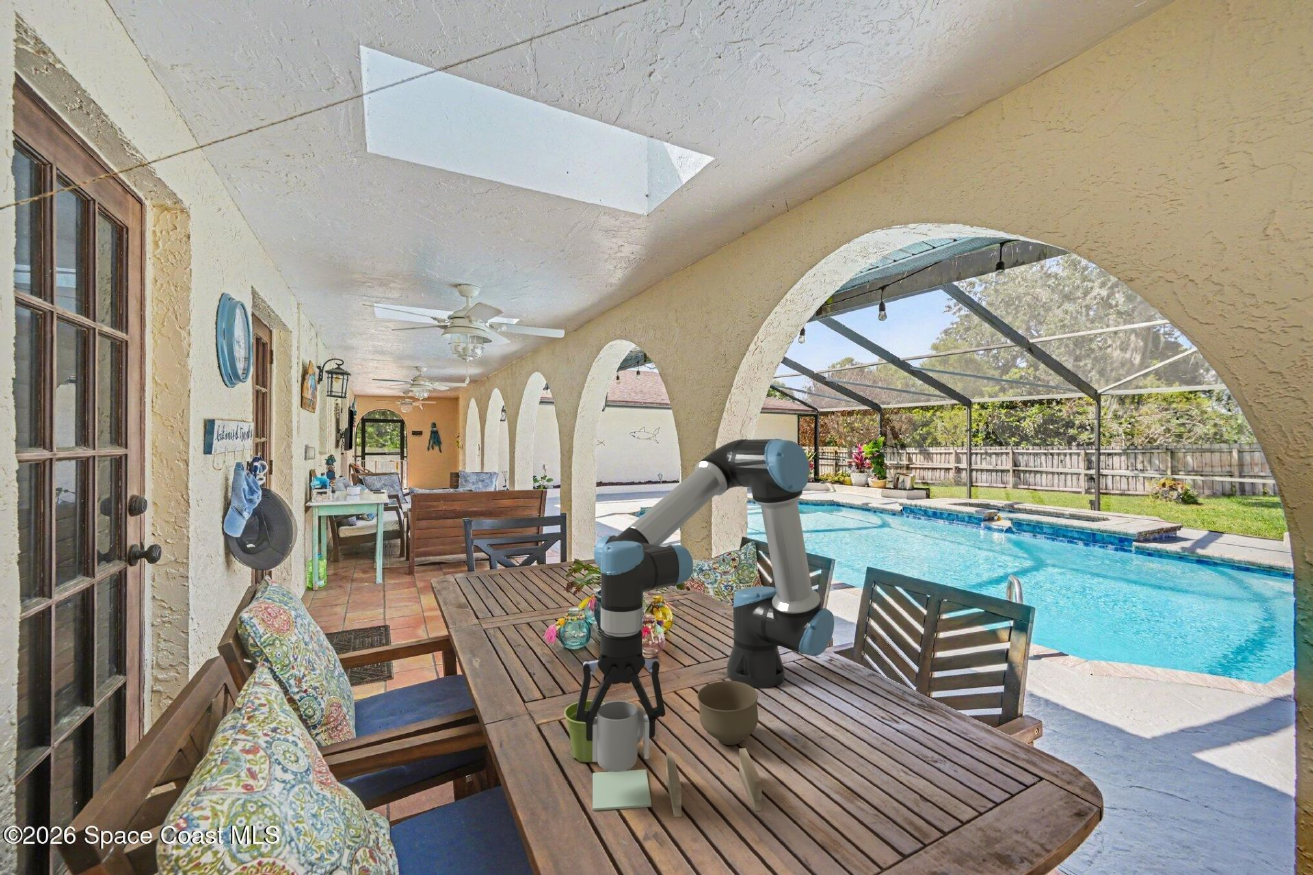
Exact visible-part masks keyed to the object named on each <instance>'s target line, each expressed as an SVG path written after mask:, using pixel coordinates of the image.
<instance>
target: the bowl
mask: <svg viewBox="0 0 1313 875" xmlns="http://www.w3.org/2000/svg"><path fill="white" fill-rule="evenodd" d="M696 697H697V698H696V699H697V702H698V708H699V722H700V725H701V727H702V728H703V729H704V731H705V732H706V733H707V734H708V735H709V736H711V737H712V738H714V739H716V740H718V742H719V743H721V744H723V745H727V746H734V745H738V744H740V743H741V742H742V741H743V740H744V739H746V738H748V737H749V736H750V735H751V734H752V733H753V732H754V731H755V729H756V727H757V725H758V723H759V711H758V699H759V694H758V691H757V690H756V689H755V687H751V686H749V685H747V684H745V683H741V682H736V681H732V680H722V681H721V680H719V681H714V682H711V683H708V684H706V685H705V686H703V687H702V688H700V689H699V690H698V692H697V696H696Z"/></svg>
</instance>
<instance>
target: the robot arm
mask: <svg viewBox="0 0 1313 875" xmlns="http://www.w3.org/2000/svg"><path fill="white" fill-rule="evenodd" d="M810 471H811V469H810V463H809V459H808V457H807V453H806V451H805V450H804V449H803V447H802V446H801V445H799V444H798V443H797V442H796V441H793V440H790V439H789V440H787V439H781V438H774V439H773V438H772V439H771V438H770V439H769V438H768V439H767V438H765V439H763V438H762V439H761V438H760V439H758V438H757V439H746V438H745V439H742V438H739V439H736V440H732V441H729V442H727V443H725V444H723V445H722V446H720V447H718V448H716V449H715V450H713V451H712V452H710V453H709V454H707V455H706V456H704V457H703V458H702V459H701V460H700V461H698V462H697V463H696V465H695V466H694V471H693V472H692V473H690V474H689V476H687V477H686V478H685V479H684V480H683V481H681V482H680V483H679V484H677V486H675V487H674V488H673V489H671V491H669V492H668V493H667V494H666V495H664V496H663V497H662V498H661V499H660V500H659V501H658V502H657V503H655V504H654V505H653V506H652V507H650V508H649V509H648V510H647V511H646V512H645V513H643V514H642V515H641V516H639V518H638V519H636V520H635V521H634V522H632V524H631V525H629V526H628V527H627V528H626V529H625V530H623V531H622V532H620V533H619V534H618V535H613V534H612V535H606V536H603V537H601V538H600V539H599V540H598V541H597V542H596V545H595V546H594V550H593V557H594V558H593V560H594V562H595V564H596V565H597V567H599V569H600V629H601V631H600V644H599V645H600V652H599V657H598V659H595V660H592V661H591V660H588V659H585V660H584V661H583V663H582V672H583V679H582V683H581V688H580V692H579V697H578V701H577V702H578V706H577V711H576V720H577V721H584V722H585V723H586V739H587V741H593V759H592V762H591V763H598V762H597V717H595V716H596V714H597V712H598V710H599V708H600V706H601V704H602V702H604V700H605V697H606V695H607V693H608V691H610V688H611V686H612V685H619V684H626V685H627V684H631V685H632V686H633V688H634V690H635V693H636V694H637V696H638V698H639V701H640V703H641V705H642V707H643V710H644V711H645V713H646V714H643V715H644V729H643V738H642V739H643V742H642V743H643V744H642V745H643V747H642V748H643V749H642V751H643V756H644V757H643V758H644V760H649V759H650V738H655V736H656V722H657V719H658V718H660V717H661V718H664V717H666V709H665V708H666V707H665V702H664V699H663V694H662V688H661V683H660V678H659V672H660V667H661V664H660V662H659V659H658V657H656V656H654V657H652V658H645V656H644V655H643V631H642V630H641V629H643V626H644V624H643V619H644V618H643V614H644V613H643V610H644V609H643V608H644V607H643V606H644V603H643V601H644V593H646V592H651V591H655V590H659V589H665V588H669V587H675V586H677V585H680V584H682V583H685V582H687V581H689V579H690V578H691V576H692V574H693V572H694V559H693V557H692V554H691V552H690V551H689V550H688V549H687V548H686V547H685V546H684V545H681V544H669V545H665V546H663V545H662V544H663V543H665V542H666V541H667V539H669V538H670V537H671V536H672V535H673V534H675V533H676V532H677V530H679V529H680V528H681V527H682V526H683V525H684V524H686V523H687V521H689V520H690V518H692V517H693V516H694V515H695V514H696V513H697V512H699V511H700V509H702V508H703V507H704V506H705V505H706V504H707V503H709V502H710V501H711V500H712V499H713V498H714V497H715V496H722V495H723V494H724V493H725V494H726V492H727V491H728V490H730V489H732V488H738V487H742V488H750V489H751V491H750V492H751V497H752V500H753V501H754V502H755V503H756V504H757V505H759V506H760V509H761V514H762V519H763V524H764V530H765V537H766V541H767V547H768V548H767V549H768V552H769V553H768V554H769V559H770V564H771V570H772V575H773V580H774V584H775V587H773V586H761V585H760V586H749V587H744V588H741V589H738V590H737V591H736V592H735V593H734V595H733V596H734V597H733V605H732V609H733V612H732V613H733V646H732V648H731V651H730V654H729V658H728V661H727V665H726V675H727V678H729V680H730V681H736V682H741V683H745V684H747V685H749V686H751V687H753V688H757V689H760V688H761V689H765V688H766V689H767V688H772V687H777V686H779V685H781V684H782V683H783V682H784V681H785V672H786V671H785V666H784V664H783V659H782V657H781V654H780V651H779V647H781V648H784V649H788V650H789V651H790V650H791V651H793V652H796V653H799V654H800V655H807V656H810V657H817V656H820V655H821V654H823V653H824V652H825V651H826V649H827V648H828V647H829V645H830V642H831V640H832V638H833V633H834V630H835V617H834V614H833V612H832V611H831V610H830V609H828V608H825V607H823V606H822V601H821V597H820V594H819V593H818V592H817V591H816V590H814V589H813V587H812V580H811V574H810V569H809V563H808V561H809V560H808V556H807V550H806V544H805V539H804V533H803V527H802V521H801V515H800V514H801V513H800V509H799V503H798V500H799V499H800V497H801V496H803V489H805V488H806V486H807V484H808V482H809V479H810V477H809V475H811V474H810ZM661 545H662V546H661ZM644 667H646V668H647V672H648V673H650V677H651V681H652V687H653V692H654V693H653V694H654V697H655V702H656V706H655V707H653V706H652V705H653V704H652V703H651V701H650V699H649V696H648V694H647V692H646V690H645V688H644V686H643V684H642V681H641V679H640V676H639V674H640V672H641V671H642V669H644ZM596 669H599V670H600V671H601V673H602V675H603V677H602V679H601V682H600V684H599V686H598V688H597V691H596V693H595V694H594V696H593V698H592V700H593V701H592V703H591V705H590V707H589V709H588V711H585V706H586V701H587V700H588V696H589V691H590V685H591V681H592V676H593V675H595V673H596Z"/></svg>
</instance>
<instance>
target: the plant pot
mask: <svg viewBox="0 0 1313 875" xmlns="http://www.w3.org/2000/svg"><path fill="white" fill-rule="evenodd" d="M592 701H593V699H592V700H590V699H589V700H588V699H587V701H586V706H585V711H588V709H589V707H590V705H591V703H592ZM604 703H605V702H604V701H603V702H602V704H604ZM602 704H601V705H602ZM577 706H578V701H576V702H573V703H571V704H569V705H568V706H567V707H565V709H564V712H563V715H564V718H565V720H566V723H567V726H568V732H569V740H570V748H571V755H572V758H573V759H576V760H577V761H578V762H580V763H593V762H592V759H593V741H587V739H586V723H585V722H584V721H577V720H576V711H577ZM595 717H597V714H596V716H595Z"/></svg>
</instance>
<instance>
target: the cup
mask: <svg viewBox="0 0 1313 875" xmlns="http://www.w3.org/2000/svg"><path fill="white" fill-rule="evenodd" d="M644 715H645V714H644V712H643V711H642V710H641V709H640V707H637V706H636V705H635V704H634V703H633V702H632V703H631V702H630V701H626V700H612V701H611V700H610V701H608V702H607V701H606V702H604V704H602V705H601V706H600V708H599V710H598V712H597V762H596V763H597V765H599V767H600V768H601V769H602V770H604V771H606V772H621V771H629V770H630V769H632V767H634V766H635V765H636V763H637V760H638V750H639V749H638V745H639V743H641V741H642V739H643V729H644Z"/></svg>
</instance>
